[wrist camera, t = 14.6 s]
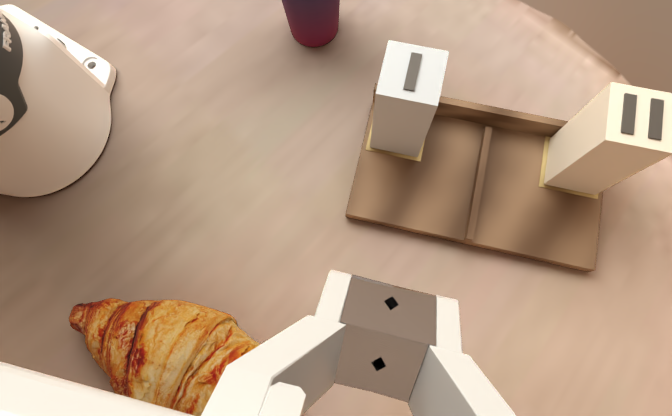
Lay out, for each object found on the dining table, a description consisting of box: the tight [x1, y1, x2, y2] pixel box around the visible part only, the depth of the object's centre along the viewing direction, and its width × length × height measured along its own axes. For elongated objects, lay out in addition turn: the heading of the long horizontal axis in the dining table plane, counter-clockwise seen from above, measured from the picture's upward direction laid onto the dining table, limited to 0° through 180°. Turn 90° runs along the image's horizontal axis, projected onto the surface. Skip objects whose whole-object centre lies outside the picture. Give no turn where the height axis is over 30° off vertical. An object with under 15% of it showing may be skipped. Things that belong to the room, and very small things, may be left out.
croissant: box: [69, 298, 260, 416], centre depth 36 cm, size 21×10×8 cm, turn 68°
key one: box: [370, 40, 449, 157], centre depth 37 cm, size 4×5×10 cm
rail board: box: [346, 83, 603, 272], centre depth 40 cm, size 22×12×4 cm, turn 76°
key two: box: [544, 82, 672, 195], centre depth 35 cm, size 4×5×10 cm
